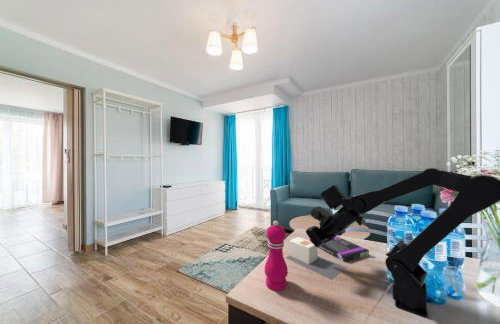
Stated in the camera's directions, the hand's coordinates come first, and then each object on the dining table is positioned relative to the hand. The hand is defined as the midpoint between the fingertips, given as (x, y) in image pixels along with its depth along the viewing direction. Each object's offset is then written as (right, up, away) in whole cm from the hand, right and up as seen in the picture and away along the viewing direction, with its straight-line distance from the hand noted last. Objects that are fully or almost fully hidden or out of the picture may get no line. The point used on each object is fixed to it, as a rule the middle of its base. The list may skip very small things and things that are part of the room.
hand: (312, 242), depth 74 cm
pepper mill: (-16, -8, -13) cm, 22 cm away
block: (0, -4, 0) cm, 4 cm away
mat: (+1, -8, -1) cm, 8 cm away
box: (+15, -8, +11) cm, 20 cm away
